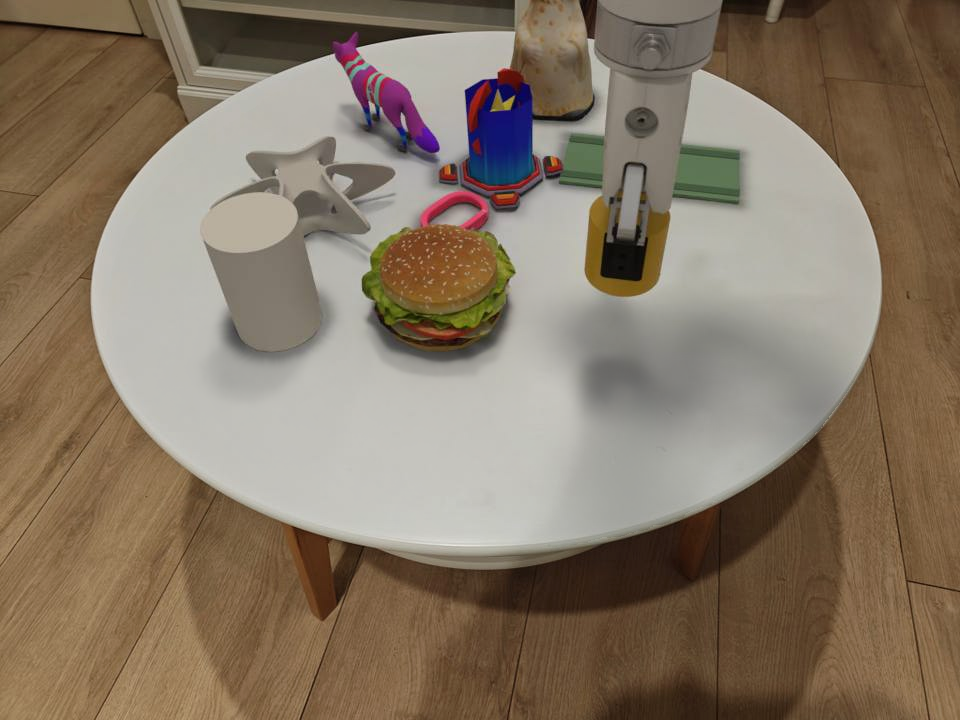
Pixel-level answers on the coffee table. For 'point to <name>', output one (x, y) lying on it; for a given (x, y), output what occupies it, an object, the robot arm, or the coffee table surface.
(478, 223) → the fitness band
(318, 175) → the sculpture
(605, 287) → the yellow stemmed cylinder
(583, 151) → the green grooved tray
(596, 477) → the coffee table surface
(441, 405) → the coffee table surface
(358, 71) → the magenta toy fox
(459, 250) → the food
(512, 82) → the fantasy tower
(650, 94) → the robot arm
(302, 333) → the beige solid cylinder
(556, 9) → the figurine
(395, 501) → the coffee table surface
